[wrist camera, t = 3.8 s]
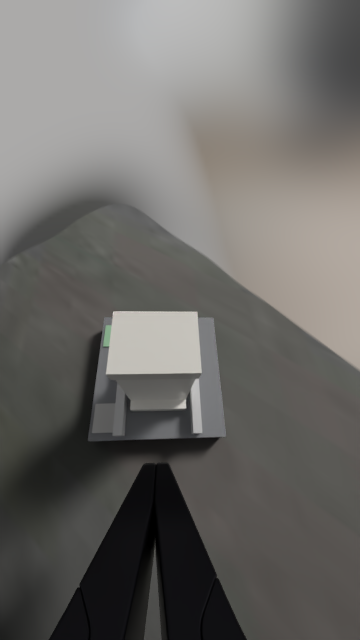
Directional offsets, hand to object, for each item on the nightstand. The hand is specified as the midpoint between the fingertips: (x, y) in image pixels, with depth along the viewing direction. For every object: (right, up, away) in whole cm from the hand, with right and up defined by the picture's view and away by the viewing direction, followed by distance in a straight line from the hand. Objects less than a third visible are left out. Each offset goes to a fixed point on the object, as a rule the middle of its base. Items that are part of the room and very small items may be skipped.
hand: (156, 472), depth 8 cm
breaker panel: (-1, +1, +9) cm, 9 cm away
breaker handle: (-1, +1, +7) cm, 7 cm away
